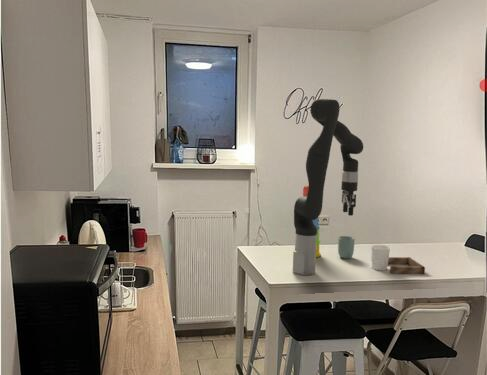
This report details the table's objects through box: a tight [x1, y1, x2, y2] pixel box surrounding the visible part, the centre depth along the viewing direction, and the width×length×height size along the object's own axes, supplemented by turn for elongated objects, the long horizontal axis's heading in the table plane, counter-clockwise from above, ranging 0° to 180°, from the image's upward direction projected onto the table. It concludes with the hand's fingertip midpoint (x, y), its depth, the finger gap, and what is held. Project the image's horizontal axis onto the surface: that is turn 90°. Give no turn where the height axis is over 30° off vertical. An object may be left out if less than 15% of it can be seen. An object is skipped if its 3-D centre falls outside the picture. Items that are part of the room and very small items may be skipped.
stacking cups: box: [302, 185, 321, 258], centre depth 209 cm, size 10×10×35 cm
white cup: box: [371, 244, 391, 271], centre depth 193 cm, size 8×8×10 cm
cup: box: [337, 235, 356, 260], centre depth 208 cm, size 8×8×10 cm
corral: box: [388, 256, 426, 275], centre depth 194 cm, size 15×15×3 cm
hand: (347, 213), depth 206 cm, fingers open, 8 cm apart
